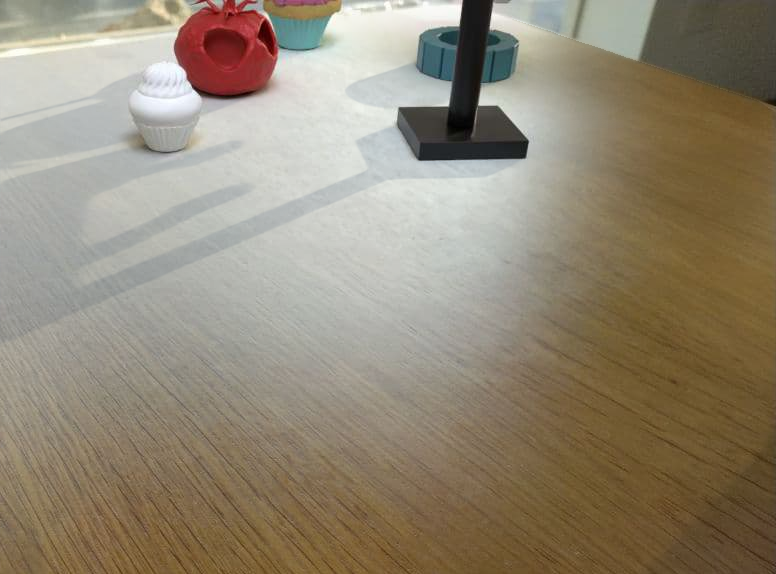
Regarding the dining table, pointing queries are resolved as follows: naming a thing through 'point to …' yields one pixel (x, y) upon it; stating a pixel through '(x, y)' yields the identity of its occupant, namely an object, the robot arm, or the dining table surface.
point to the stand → (464, 105)
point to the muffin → (165, 107)
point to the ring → (441, 52)
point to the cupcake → (300, 21)
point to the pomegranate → (227, 49)
